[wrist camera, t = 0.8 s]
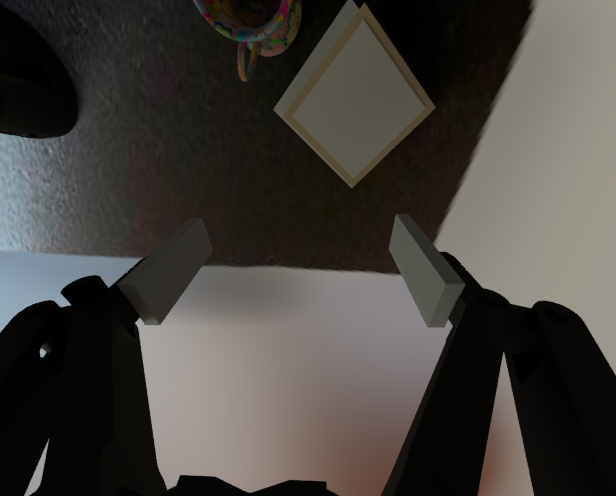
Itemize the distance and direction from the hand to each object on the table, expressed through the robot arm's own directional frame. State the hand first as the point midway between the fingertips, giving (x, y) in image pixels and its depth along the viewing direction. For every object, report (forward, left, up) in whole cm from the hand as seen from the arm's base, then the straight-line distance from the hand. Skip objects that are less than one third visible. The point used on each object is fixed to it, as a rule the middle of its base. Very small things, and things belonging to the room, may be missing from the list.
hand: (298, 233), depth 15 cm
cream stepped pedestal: (0, +9, -23) cm, 25 cm away
